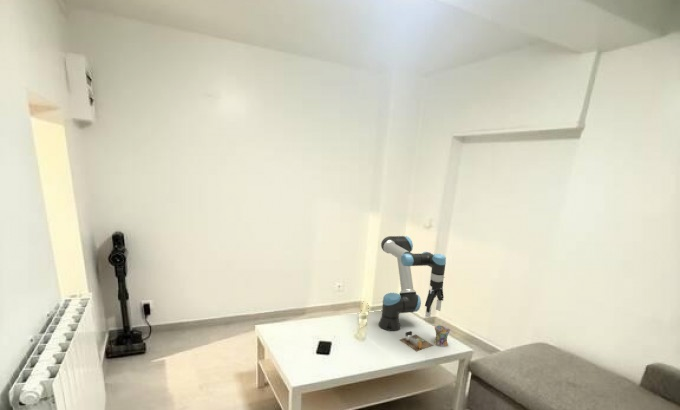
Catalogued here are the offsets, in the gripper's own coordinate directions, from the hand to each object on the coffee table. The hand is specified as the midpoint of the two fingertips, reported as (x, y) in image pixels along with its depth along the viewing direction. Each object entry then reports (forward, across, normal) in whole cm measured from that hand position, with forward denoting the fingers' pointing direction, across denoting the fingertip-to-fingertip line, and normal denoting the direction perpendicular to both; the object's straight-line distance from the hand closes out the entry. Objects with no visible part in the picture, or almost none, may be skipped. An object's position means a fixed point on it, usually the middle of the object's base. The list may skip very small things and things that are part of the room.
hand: (433, 313), depth 194 cm
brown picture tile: (+23, -2, +8) cm, 24 cm away
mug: (+23, +10, -2) cm, 25 cm away
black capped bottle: (+21, -6, +8) cm, 24 cm away
